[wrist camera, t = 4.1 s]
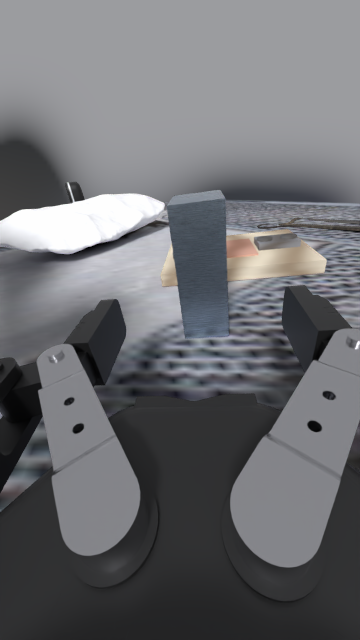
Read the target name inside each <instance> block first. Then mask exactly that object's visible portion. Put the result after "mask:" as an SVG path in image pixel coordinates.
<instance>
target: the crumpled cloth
mask: <svg viewBox="0 0 360 640" xmlns="http://www.w3.org/2000/svg"><path fill="white" fill-rule="evenodd" d="M164 207H165V204H164V203H163V202H160V201H158V200H156V199H153V198H151V197H149V196H145V195H140V194H117V195H112V194H106V195H99V196H96V197H93V198H90V199H87V200H83V201H77V202H74V203H71V204H65V205H59V206H54V207H44V208H41V209H31V210H30V209H24V210H20V211H18V212H16V213H13V214H12V215H11V216H9V217H7V218H5V219H4V220H2V221H0V247H9V248H13V249H20V250H24V251H28V252H50V251H51V252H54V253H60V254H72V253H75V252H78V251H80V250H82V249H84V248H87V247H90V246H93V245H95V244H99V243H103V242H110V241H113V240H118V239H119V238H120V237H121V236H123V235H125V234H127V233H129V232H132V231H135V230H137V229H139V228H140V227H143V226H145V225H147V224H148V223H151V222H153V221H154V220H155V219H156V218H157V217H158V216H159V215H160V214H161V213H162V212H163V210H164Z"/></svg>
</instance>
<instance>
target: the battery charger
mask: <svg viewBox="0 0 360 640" xmlns="http://www.w3.org/2000/svg"><path fill="white" fill-rule="evenodd" d="M65 187H66V190H67V193H68V195H69V199H70V202H71V203H74V202H77V201H83V200H85V199H84V196H83V193H82V190H81V188H80V185H79V184H78V183H77V182H67V183H65Z"/></svg>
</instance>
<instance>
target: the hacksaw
mask: <svg viewBox="0 0 360 640" xmlns="http://www.w3.org/2000/svg"><path fill="white" fill-rule="evenodd" d="M298 219H301V218H294V219H292V220H291V221H290V222H288V223H284V224H279V225H283V226H273V227H259V226H261V225H266V224H261V225H258V226H257V227H258V228H260V229H270V228H277V227H308V228H309V227H311V228H323V229H331V230H332V229H335V230H347V231H360V227H354V226H352V227H351V226H333V225H313V224H312V225H311V224H292V223H294V221H295V220H298ZM307 219H308V220H314V221H326V222H338V223H356V224H360V221H351V220H330V219H309V218H307ZM276 225H277V224H276Z"/></svg>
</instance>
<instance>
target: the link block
mask: <svg viewBox="0 0 360 640" xmlns="http://www.w3.org/2000/svg"><path fill="white" fill-rule="evenodd" d="M167 212H168V219H169V227H170V234H171V241H172V248H173V255H174V262H175V269H176V276H177V283H178V290H179V297H180V305H181V312H182V319H183V326H184V333H185V339H186V338H203V337H220V336H229V322H228V283H227V245H226V206H225V197H224V196H223V194H222V192H221V191H220V190H215V191H207V192H200V193H193V194H185V195H177V196H174V197H173V198H172V199H171V201H170V202H169V203H168V204H167Z"/></svg>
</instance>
